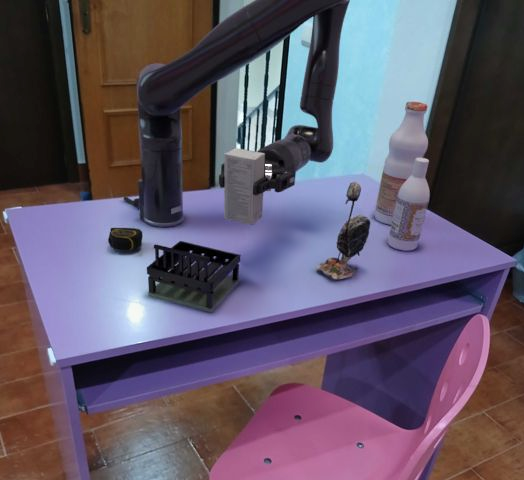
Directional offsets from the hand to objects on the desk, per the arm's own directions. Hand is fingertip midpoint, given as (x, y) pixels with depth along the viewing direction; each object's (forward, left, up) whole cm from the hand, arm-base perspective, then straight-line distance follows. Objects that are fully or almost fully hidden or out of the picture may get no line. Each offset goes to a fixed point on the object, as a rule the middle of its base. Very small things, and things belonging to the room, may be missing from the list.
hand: (238, 185), depth 99 cm
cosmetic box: (0, +2, -7) cm, 8 cm away
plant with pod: (+18, +16, -20) cm, 31 cm away
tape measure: (-27, +4, -20) cm, 34 cm away
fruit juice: (+23, +51, -20) cm, 59 cm away
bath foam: (+28, +36, -20) cm, 50 cm away
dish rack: (-6, -6, -20) cm, 21 cm away
